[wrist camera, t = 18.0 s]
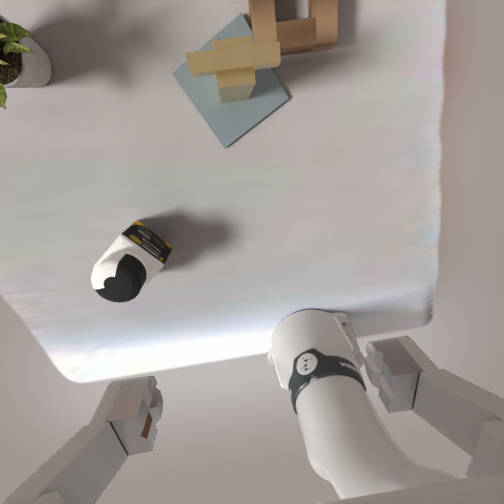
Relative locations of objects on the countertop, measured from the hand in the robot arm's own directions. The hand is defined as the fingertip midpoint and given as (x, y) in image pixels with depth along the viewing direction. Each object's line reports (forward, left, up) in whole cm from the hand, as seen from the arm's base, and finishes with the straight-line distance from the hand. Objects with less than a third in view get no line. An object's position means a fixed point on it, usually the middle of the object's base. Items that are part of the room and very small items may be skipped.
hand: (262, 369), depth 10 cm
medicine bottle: (+2, +18, -34) cm, 39 cm away
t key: (+12, -8, -34) cm, 36 cm away
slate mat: (+12, -8, -34) cm, 37 cm away
